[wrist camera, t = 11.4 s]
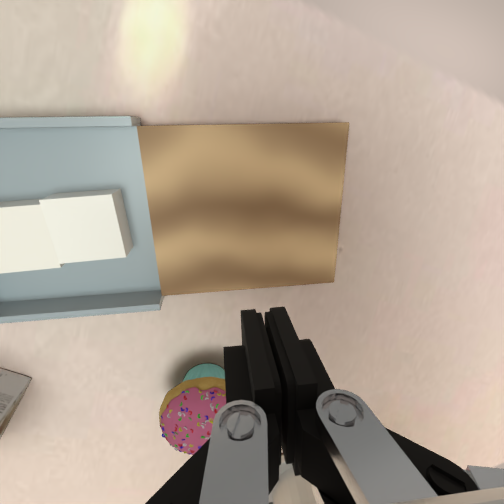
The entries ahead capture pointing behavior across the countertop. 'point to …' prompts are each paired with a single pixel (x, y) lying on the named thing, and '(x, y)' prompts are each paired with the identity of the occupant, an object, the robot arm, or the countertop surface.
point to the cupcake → (193, 408)
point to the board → (244, 203)
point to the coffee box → (10, 395)
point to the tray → (75, 180)
